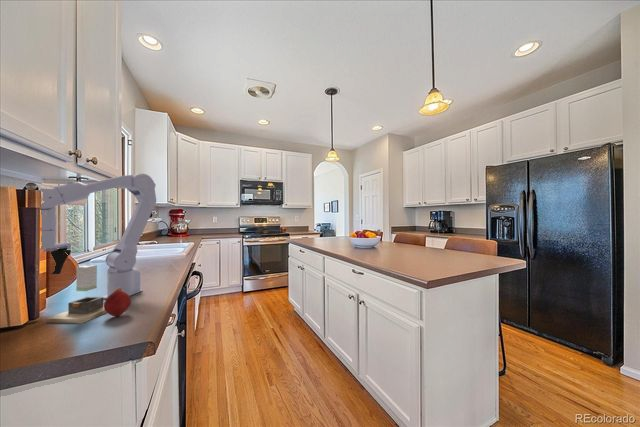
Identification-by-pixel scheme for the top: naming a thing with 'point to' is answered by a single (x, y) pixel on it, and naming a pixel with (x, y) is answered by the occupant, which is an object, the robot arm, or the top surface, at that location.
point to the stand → (80, 311)
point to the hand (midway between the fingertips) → (41, 276)
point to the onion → (117, 303)
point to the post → (86, 278)
